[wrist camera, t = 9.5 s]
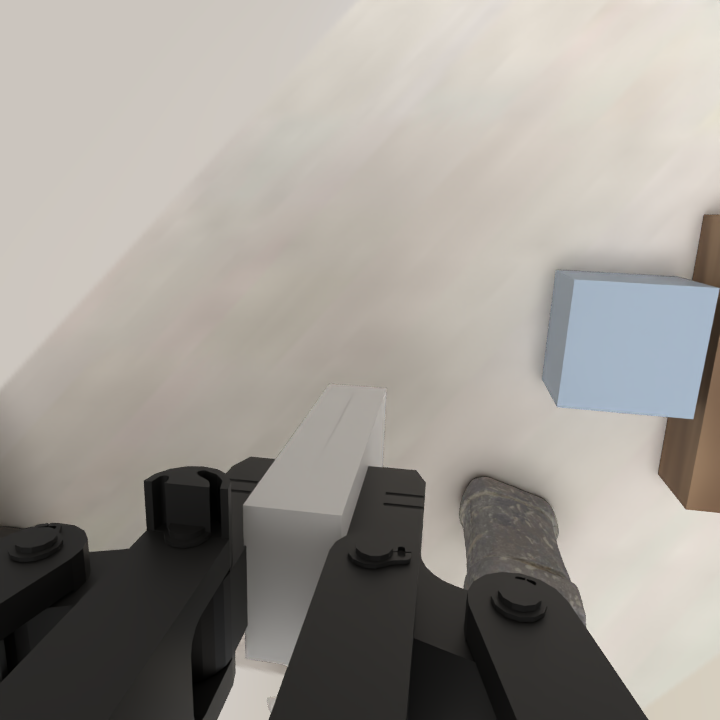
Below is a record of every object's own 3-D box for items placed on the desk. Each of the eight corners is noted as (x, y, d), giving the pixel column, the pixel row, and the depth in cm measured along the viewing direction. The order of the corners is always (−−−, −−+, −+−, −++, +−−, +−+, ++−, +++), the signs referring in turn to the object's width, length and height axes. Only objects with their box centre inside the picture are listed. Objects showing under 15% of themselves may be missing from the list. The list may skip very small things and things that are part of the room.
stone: (472, 464, 33) (475, 560, 24) (564, 504, 33) (605, 617, 23) (449, 513, 34) (443, 624, 25) (538, 551, 34) (567, 679, 24)
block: (541, 378, 32) (557, 407, 27) (555, 269, 30) (574, 279, 25) (656, 387, 31) (693, 419, 26) (676, 276, 29) (719, 287, 25)
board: (658, 474, 32) (685, 509, 28) (704, 214, 28) (743, 214, 24) (696, 477, 31) (730, 513, 28) (747, 216, 28) (794, 215, 24)
